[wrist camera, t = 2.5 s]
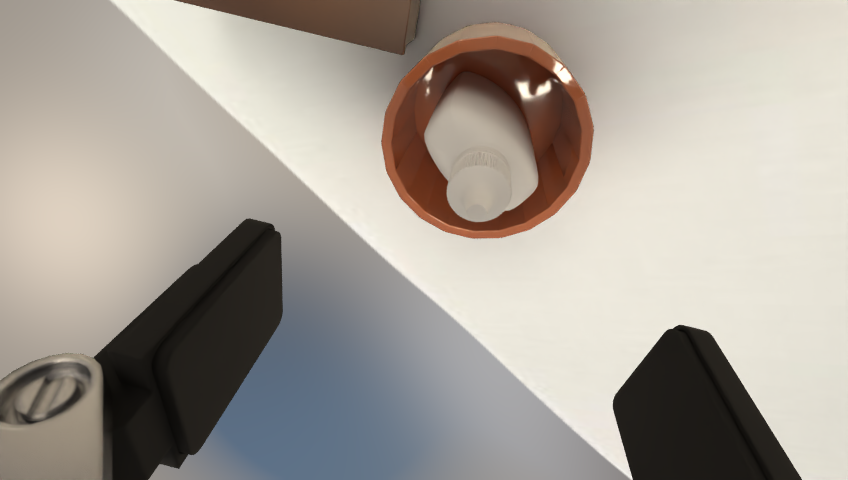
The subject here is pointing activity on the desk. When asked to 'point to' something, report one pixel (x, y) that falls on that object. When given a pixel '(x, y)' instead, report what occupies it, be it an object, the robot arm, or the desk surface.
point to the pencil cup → (534, 95)
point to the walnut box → (333, 18)
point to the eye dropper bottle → (481, 148)
